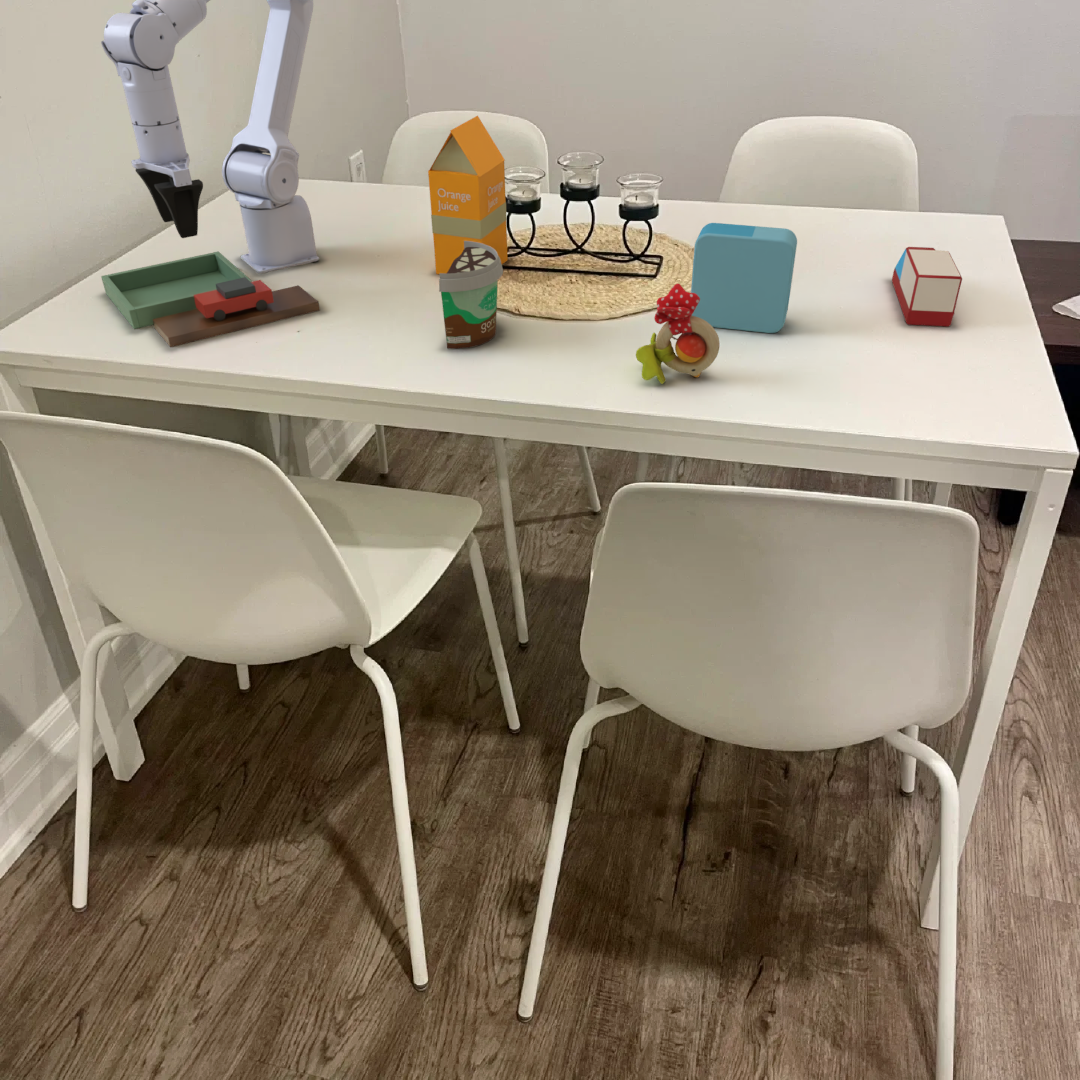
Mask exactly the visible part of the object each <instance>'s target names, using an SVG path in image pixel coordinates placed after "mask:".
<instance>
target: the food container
mask: <svg viewBox="0 0 1080 1080" xmlns="http://www.w3.org/2000/svg"><path fill="white" fill-rule="evenodd" d="M503 274H504V268H503V264H501V260H500V257H499V256H498V254H497V251H496V250H495V249H493V248H492V247H490V246H488V245H485V244H482V243H478V242H472V241H464V250H463V252H462V254H461V255H460V256H459V257H457V258H456V259H455V260H454V261H453V263H452V265H451V267H450V269H449V270H448V272H447V273H439V274H438V275H439V276H438V277H439V279H438V292H440V294H441V296H440V297H441V304H442V315H443V322H444V323H443V324H444V332H445V340H446V349H453V350H455V349H456V350H457V349H470V348H473V347H478V346H482V345H484V344H486V343H489V342H490V341H491V340H493V339H495V337H496V334H497V313H498V312H497V311H498V309H497V308H498V284H499V283H498V280H500V279H501V278H502V276H503Z"/></svg>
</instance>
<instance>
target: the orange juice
mask: <svg viewBox="0 0 1080 1080" xmlns="http://www.w3.org/2000/svg"><path fill="white" fill-rule="evenodd" d="M505 161H506V160H505V158H504V156H503V155H502V153H501V151H500V150H499V148H498V147H497V144H496V143H495V142H494V140H493V138H492V137H491V135H490V133H489V132H488V130H487V127H485V125H484V124H483V122H482V120H481V118H480V117H479V115H476V116H474V117H472V118H470V119H468V120H467V121H465V122H463V123H461V124H459V125H458V126H456V127H454V128H452V129H450V130H449V134H448V136H447V138H446V140H445V142H444V143H443V144H442V147H441V149H440V150H439V152H438V154H437V156H436V158H434V161H433V163H432V165H431V166H430V168H429V170H427V174H428V175H427V177H428V187H429V199H430V200H429V201H430V211H431V213H430V215H431V218H430V219H431V231H432V237H433V238H432V239H433V251H434V264H435V274H436V275H439V273H447V272H448V270H449V269H450V267H451V265H452V263H453V261H454V260H455V259H456V258H457V257H459V256H460V255H461V254H462V252H463V250H464V241H472V242H478V243H482V244H485V245H488V246H490V247H492V248H493V249H495V250H496V251H497V254H498V256H499V257H500V260H501V264H502V265H503V264H505V263H506V262H507V261H508V259H509V257H508V232H507V230H508V229H507V227H508V226H507V220H508V219H507V202H506V201H507V200H506V198H507V197H506V173H505V172H506V171H505Z"/></svg>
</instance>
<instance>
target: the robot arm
mask: <svg viewBox="0 0 1080 1080" xmlns="http://www.w3.org/2000/svg"><path fill="white" fill-rule="evenodd" d="M210 1H211V0H135V1H133V2H132V3H131V6H132V7H131V9H130V10H129V13H128V12H117V13H114V14H113V15H111V17H109V19H108V20H107V22H106V24H105V26H104V29H103V40H102V41H100V44H101V47H102V50H103V51H104V53H105V55H106V56H107V57H108V59H109V60H111V62H112V63H113V64H114V66H115V68H116V72H117V76H118V77H120V79H121V84H122V88H123V91H124V96H125V100H126V105H127V107H128V108H127V109H128V112H129V116H130V121H131V124H132V129H133V134H134V138H135V141H136V145H137V151H138V154H139V158H136V159H132V160H130V162H131V166H132V167H133V168H134V169H135V173H136V174H137V175H138V176H139V178H141V180H142V181H143V184H145V186H146V188H147V190H148V191H149V193H150V195H151V197H152V200H153V202H154V204H155V206H156V209H157V211H158V214H159V215H160V217H161V219H162V221H163V222H164V223H170V222H173V224H174V226H175V229H176V232H177V233H178V235H179V237H180V238H181V239H187V238H191V237H196V236H198V230H199V204H200V199H201V194H202V191H203V189H204V182H203V181H202V180H200V179H199V178H198V179H192V176H191V171H190V168H189V167H190V162H191V159H190V155H189V153H188V152H187V148H186V142H185V139H184V138H185V137H184V134H183V130H182V124H181V120H180V116H179V111H178V110H179V109H178V107H177V101H176V96H175V92H174V87H173V83H172V77H171V74H170V73H171V72H170V69H169V65H171V63H172V61H173V59H174V56H175V49H176V47H177V45H178V43H180V41H182V40H183V39H184V38H185V37H186V36H187V35H188V34H189V33H190V32H192V31H193V30H194V29H196V27H197V26H198V25H200V24H201V23H202V22H203V21H205V19H206V17H207V13H208V9H207V4H208V3H209V2H210ZM266 2H267V4H268V6H269V14H268V18H267V23H266V29H265V36H264V39H263V45H262V48H261V49H262V50H261V55H260V59H259V60H260V61H259V66H258V71H257V74H256V75H257V76H256V80H255V81H256V82H255V86H254V87H255V88H254V91H253V97H252V102H251V107H250V113H249V118H248V123H247V125H246V126H245V127H244V128H242V129H241V130H239V132H238V133H237V134H235V135H234V136H233V138H232V143H231V147H230V148H229V151H228V152H227V154H226V155H225V157H224V159H223V162H222V166H221V176H222V180H223V183H224V185H225V187H226V188H227V189H228V190H229V191H230V192H231V193H233V194H234V199H235V202H238V204H239V208H240V214H241V219H242V225H243V231H244V235H245V240H246V244H247V245H246V246H247V250H248V253H245V254H241V255H240V259H241V260H242V261H243V262H244V263H246V264H247V265H248V266H249V267H251V268H252V270H254V271H255V272H256V273H257V274H265V273H270V272H273V271H279V270H283V269H287V268H291V267H295V266H301V265H304V264H309V263H314V262H319V260H320V256H318V254H317V247H316V240H315V233H314V227H313V219H312V214H311V212H310V211H311V210H310V207H309V206H308V204H307V201H306V199H305V198H304V197H303V195H299V194H296V193H297V191H298V189H299V182H300V181H299V179H300V177H299V170H298V169H299V168H298V167H299V165H298V164H299V158H300V154H299V151H298V150H297V148H296V146H294V145H293V143H292V142H291V141H290V139H289V132H290V126H291V121H292V116H293V112H294V107H295V102H296V96H297V92H298V87H299V82H300V78H301V71H302V66H303V62H304V57H305V56H304V55H305V53H306V47H307V41H308V37H309V32H310V26H311V21H312V16H313V11H314V0H266Z"/></svg>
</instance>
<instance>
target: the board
mask: <svg viewBox="0 0 1080 1080" xmlns="http://www.w3.org/2000/svg"><path fill="white" fill-rule="evenodd" d="M272 295H273V300H274V303H270V304H267V308H266V309H265V310H264V311H259V310H258V309H257V308H256V307H253V308H249V309H244V310H240V311H236V312H232V313H228V314H225V315H226V316H225V318H224V320H222V321H217V320H215V319H214V317H211V318H206V317H205V316H204V315H203V314H202V313H201V312H200V311H199V310H198V309H194V310H190V311H186V312H182V313H177V314H173V315H169V316H164V317H160V318H156V319H153V324H154V325H153V327H154V329H155V330H156V332H157V333H158V334H159V336H161V338H162V340H163V341H165V342H166V344H167V346H169V347H170V348H174V347H177V346H183V345H185V344H190V343H194V342H197V341H202V340H206V339H210V338H215V337H218V336H222V335H227V334H230V333H235V332H238V331H242V330H246V329H251V328H255V327H258V326H262V325H266V324H270V323H274V322H277V321H278V322H279V321H283V320H286V319H292V318H295V317H298V316H303V315H307V314H311V313H315V312H319V311H321V309H320V303H319V300H317V299H316V298H315V297H314V296H312V295H311V294H310V293H309V292H307V291H306V290H305V289H303V287H301V286H300V285H298V284H297V285H294V286H289V287H284V288H281V289H276V290H272Z"/></svg>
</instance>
